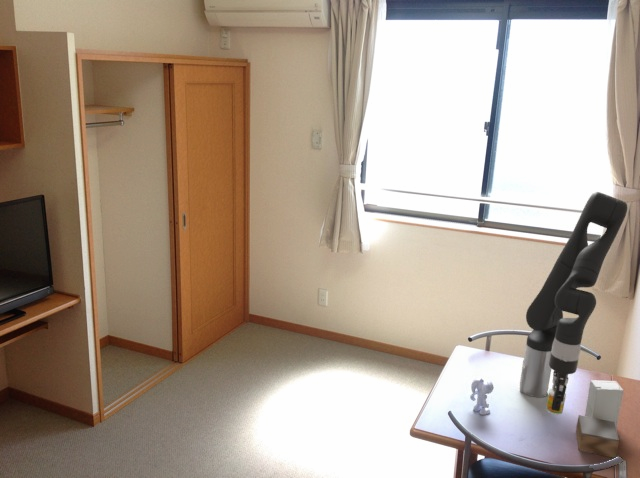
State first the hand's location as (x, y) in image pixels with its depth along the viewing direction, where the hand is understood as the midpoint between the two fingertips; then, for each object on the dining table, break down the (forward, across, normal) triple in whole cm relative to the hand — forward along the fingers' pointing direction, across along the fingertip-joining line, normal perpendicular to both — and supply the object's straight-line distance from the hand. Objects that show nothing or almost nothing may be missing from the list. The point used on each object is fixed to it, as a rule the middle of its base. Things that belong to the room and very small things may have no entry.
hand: (555, 405), depth 177 cm
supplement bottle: (+2, 0, 0) cm, 2 cm away
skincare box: (+12, -15, +16) cm, 25 cm away
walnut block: (+12, -3, +13) cm, 18 cm away
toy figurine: (+13, -8, -21) cm, 26 cm away
